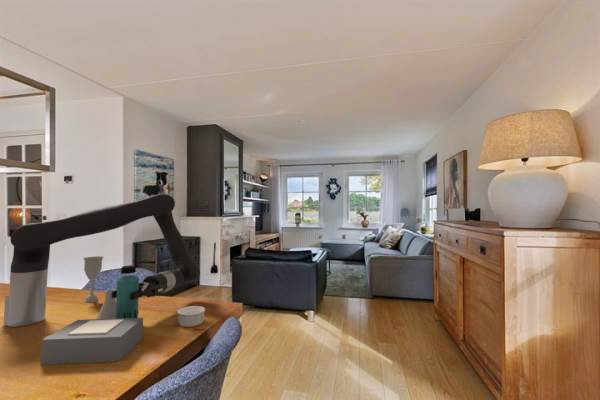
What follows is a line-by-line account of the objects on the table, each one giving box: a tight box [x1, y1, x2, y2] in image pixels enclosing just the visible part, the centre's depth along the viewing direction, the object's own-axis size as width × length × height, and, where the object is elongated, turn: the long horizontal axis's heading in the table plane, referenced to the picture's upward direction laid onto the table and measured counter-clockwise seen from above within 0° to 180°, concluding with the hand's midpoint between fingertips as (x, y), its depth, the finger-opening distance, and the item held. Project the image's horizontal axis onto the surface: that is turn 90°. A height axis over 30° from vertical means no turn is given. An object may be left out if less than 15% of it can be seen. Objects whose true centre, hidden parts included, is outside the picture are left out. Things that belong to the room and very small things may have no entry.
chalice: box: [83, 256, 104, 303], centre depth 118 cm, size 7×7×18 cm
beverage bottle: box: [115, 264, 140, 319], centre depth 90 cm, size 6×7×20 cm
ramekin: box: [177, 305, 206, 328], centre depth 96 cm, size 9×9×4 cm
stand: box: [40, 317, 144, 366], centre depth 76 cm, size 18×13×6 cm
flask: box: [95, 289, 116, 319], centre depth 97 cm, size 7×7×10 cm
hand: (121, 295), depth 88 cm, fingers closed on beverage bottle, 6 cm apart
